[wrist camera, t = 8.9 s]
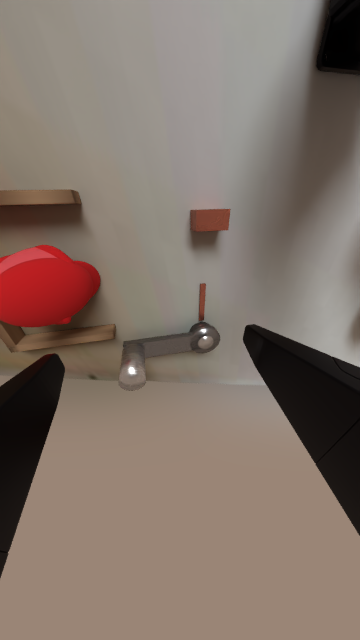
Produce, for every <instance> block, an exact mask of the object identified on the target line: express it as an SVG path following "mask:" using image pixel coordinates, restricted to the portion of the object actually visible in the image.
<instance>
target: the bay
mask: <svg viewBox="0 0 360 640" xmlns="http://www.w3.org/2000/svg"><path fill="white" fill-rule="evenodd" d="M50 204H81V200H80V197H79V193H78V192H77V191H74V190H10V191H0V206H10V205H50ZM115 332H116V327H115V324H111V325H103V326H95V327H87V328H79V329H71V330H63V331H55V332H47V333H39V334H31V335H25V334H24V332H23V331H22V329H21V327H20V326H15V325H11V324H8V323H5V322H3V321H1V320H0V338H1V339H2V340H3V342H4V343H5V344H6V346H7V347H8V348H9V350H10V351H11V353H12V352H19V351H26V350H34V349H41V348H48V347H56V346H63V345H70V344H78V343H85V342H92V341H100V340H107V339H114V338H115Z"/></svg>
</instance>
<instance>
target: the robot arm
mask: <svg viewBox="0 0 360 640" xmlns="http://www.w3.org/2000/svg"><path fill="white" fill-rule="evenodd" d="M325 54H326V56H327V58H326V61H325ZM317 68H318V70H320V71H327V72H337V73H347V74H357V75H360V0H331V3H330V7H329V13H328V17H327V21H326V25H325V29H324V33H323V37H322V41H321V46H320V50H319V54H318V58H317ZM243 342H244V344H245V346H246V348H247V350H248V352H249V354H250V357H251V359H252V361H253V363H254V365H255V367H256V368H257V370H258V372H259V373H260V375H261V377H262V378H263V380H264V381H265V383H266V385H267V386H268V388H269V390H270V391H271V393H272V394H273V396H274V398H275V399H276V401H277V402H278V404H279V406H280V407H281V409H282V410H283V412H284V414H285V415H286V417H287V419H288V420H289V422H290V423H291V425H292V427H293V428H294V430H295V432H296V433H297V435H298V437H299V438H300V440H301V441H302V443H303V445H304V446H305V448H306V449H307V451H308V453H309V454H310V456H311V458H312V459H313V461H314V462H315V463H316V466H317V467H318V469H319V471H320V472H321V474H322V475H323V477H324V479H325V480H326V482H327V483H328V485H329V487H330V489H331V490H332V492H333V493H334V495H335V496H336V498H337V500H338V501H339V503H340V505H341V506H342V508H343V509H344V511H345V513H346V514H347V516H348V518H349V519H350V521H351V522H352V524H353V526H354V527H355V529H356V530H357V532H358V533H359V535H360V367H357V366H355V365H352V364H350V363H347V362H345V361H342V360H340V359H337V358H335V357H331V356H330V355H328V354H325V353H323V352H320V351H318V350H315V349H313V348H311V347H308V346H306V345H303V344H301V343H298V342H296V341H294V340H291V339H289V338H286V337H284V336H281V335H279V334H277V333H274V332H272V331H269V330H267V329H265V328H262V327H260V326H257V325H255V324H252V325H247V326H246V327H245V331H244V336H243ZM64 373H65V367H64V365H63V363H62V361H61V359H60V358H59V356H58V355H57V354H55V353H54V354H47V355H44V356H43V357H41V358H40V359H39V360H37V361H36V362H34V363H33V364H32V365H30V366H29V367H27V368H26V369H24V370H23V371H22V372H20V373H19V374H17V375H16V376H15V377H13V378H12V379H10V380H9V381H7V382H6V383H5V384H3V385H2V386H1V387H0V578H1V574H2V571H3V568H4V565H5V563H6V559H7V556H8V551H9V549H10V547H11V544H12V541H13V538H14V535H15V532H16V529H17V525H18V523H19V520H20V517H21V513H22V510H23V508H24V505H25V502H26V498H27V496H28V492H29V490H30V487H31V483H32V480H33V477H34V474H35V471H36V468H37V465H38V462H39V459H40V456H41V453H42V450H43V447H44V444H45V441H46V438H47V435H48V432H49V429H50V426H51V423H52V420H53V417H54V414H55V411H56V408H57V405H58V401H59V397H60V391H61V387H62V382H63V377H64Z"/></svg>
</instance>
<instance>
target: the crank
mask: <svg viewBox="0 0 360 640" xmlns="http://www.w3.org/2000/svg"><path fill="white" fill-rule="evenodd" d="M219 341H220V335H219V333H218V331H217V330H216V328H214V327H213V326H210V325H202V326H199V327H197V328H196V329H194V330H193V331H192V332H188V333H181V334H174V335H167V336H160V337H152V338H145V339H138V340H131V341H124V343H123V347H124V349H123V351H122V359H121V368H120V376H119V385H120V387H121V388H123V389H125V390H129V391H130V390H131V391H133V390H138V389H140V388H142V387H143V386H144V385H145V383H146V374H145V358H147V357H154V356H160V355H166V354H173V353H179V352H186V351H192V350H193V351H195V352H197V353H207V352H209V351H211V350H213V349H214V348H215V347H216V346H217V345H218V344H219Z"/></svg>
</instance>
